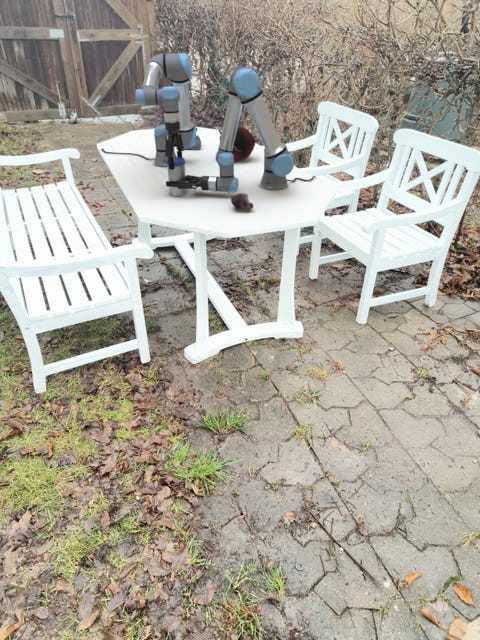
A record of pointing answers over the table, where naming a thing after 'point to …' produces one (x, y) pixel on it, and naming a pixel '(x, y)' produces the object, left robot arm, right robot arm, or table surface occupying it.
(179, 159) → the lid
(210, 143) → the table surface
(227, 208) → the table surface
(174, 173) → the jar
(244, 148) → the dark red rounded piece
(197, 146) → the koala plush
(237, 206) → the rock
